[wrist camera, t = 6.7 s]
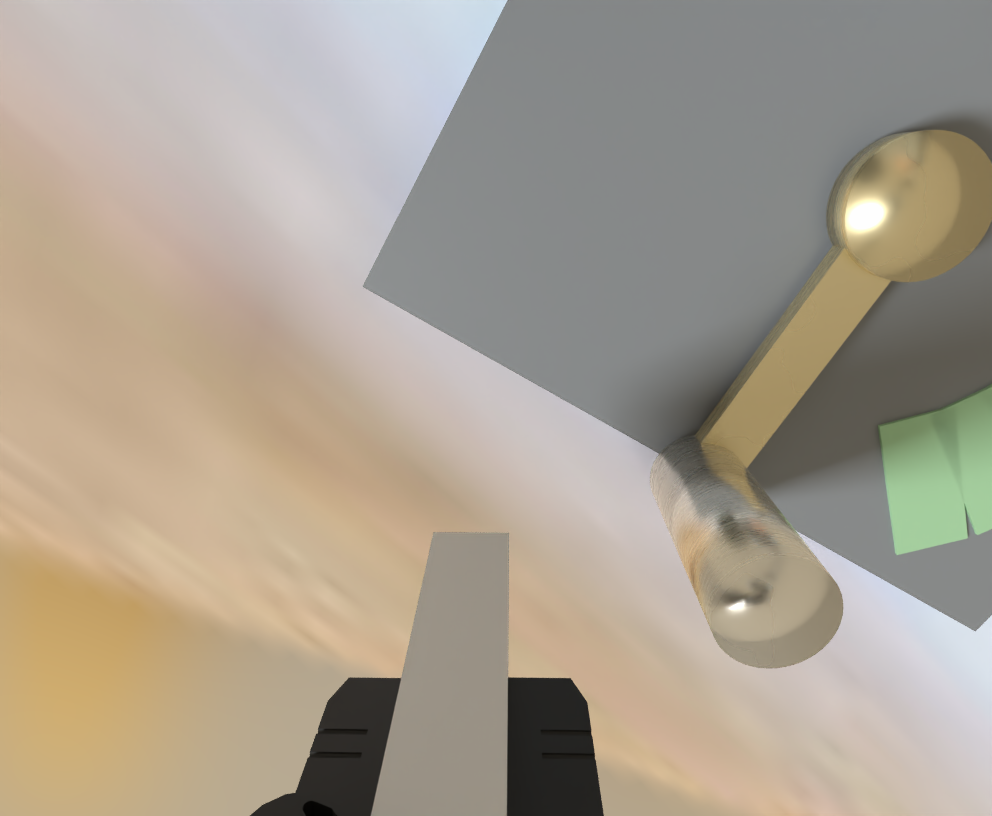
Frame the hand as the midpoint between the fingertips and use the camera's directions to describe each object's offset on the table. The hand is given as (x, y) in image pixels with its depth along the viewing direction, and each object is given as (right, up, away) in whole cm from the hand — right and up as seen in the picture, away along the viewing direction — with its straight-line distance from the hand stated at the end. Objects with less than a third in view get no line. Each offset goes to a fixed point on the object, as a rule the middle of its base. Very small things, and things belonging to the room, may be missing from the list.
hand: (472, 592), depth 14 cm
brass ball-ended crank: (+8, +5, +3) cm, 10 cm away
